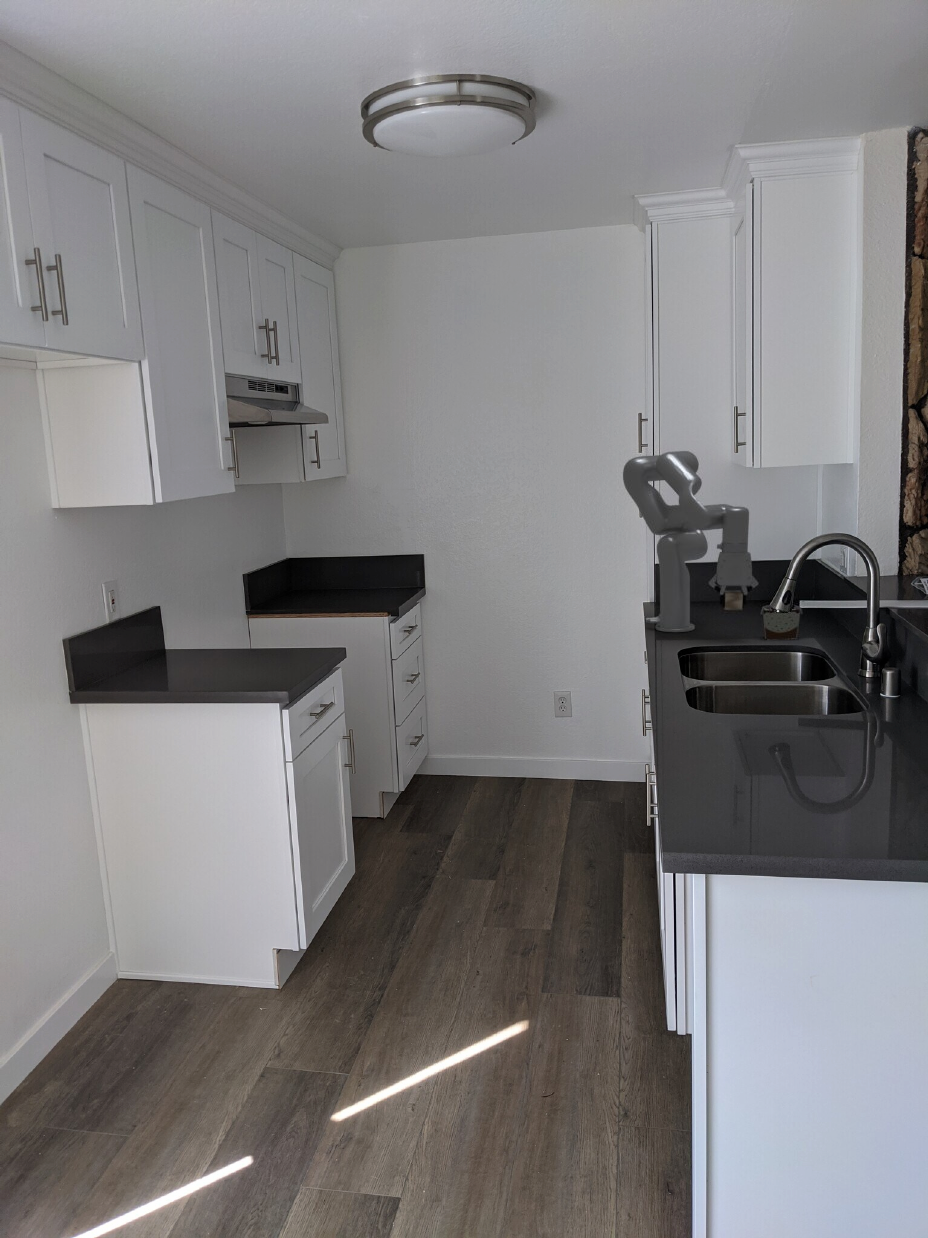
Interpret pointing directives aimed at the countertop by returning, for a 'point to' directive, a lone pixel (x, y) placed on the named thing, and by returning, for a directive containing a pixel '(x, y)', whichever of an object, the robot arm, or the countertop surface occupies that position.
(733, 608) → the maple block
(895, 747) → the countertop surface
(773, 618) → the food container
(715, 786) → the countertop surface
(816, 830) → the countertop surface
